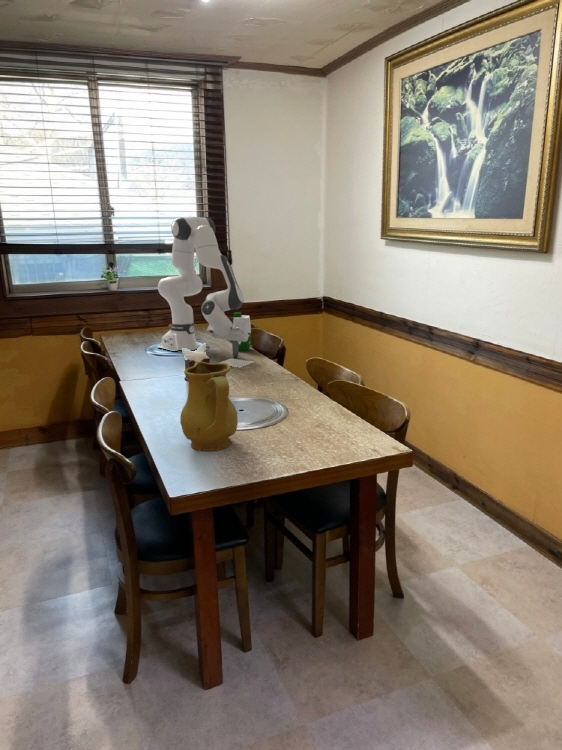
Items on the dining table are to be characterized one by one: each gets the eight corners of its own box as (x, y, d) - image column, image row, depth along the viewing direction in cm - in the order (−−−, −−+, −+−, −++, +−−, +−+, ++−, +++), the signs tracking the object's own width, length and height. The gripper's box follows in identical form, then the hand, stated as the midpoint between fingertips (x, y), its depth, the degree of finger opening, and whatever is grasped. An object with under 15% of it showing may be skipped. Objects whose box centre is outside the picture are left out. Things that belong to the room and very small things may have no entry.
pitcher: (240, 430, 171) (235, 356, 163) (238, 457, 153) (231, 375, 145) (187, 433, 171) (179, 358, 163) (178, 460, 153) (169, 378, 145)
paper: (216, 364, 254) (216, 363, 254) (230, 359, 264) (230, 358, 264) (240, 368, 247) (240, 367, 247) (254, 362, 257) (254, 361, 257)
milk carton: (235, 348, 287) (233, 311, 281) (251, 348, 287) (250, 311, 281) (233, 352, 278) (232, 314, 273) (250, 351, 278) (249, 314, 273)
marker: (231, 357, 267) (230, 330, 263) (234, 356, 269) (233, 329, 265) (236, 358, 265) (235, 330, 261) (240, 357, 268) (239, 329, 264)
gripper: (243, 323, 251) (255, 339, 262) (209, 319, 261) (222, 335, 272) (238, 334, 249) (250, 350, 259) (204, 330, 259) (217, 345, 269)
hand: (235, 342), depth 266 cm, fingers closed on marker, 3 cm apart
